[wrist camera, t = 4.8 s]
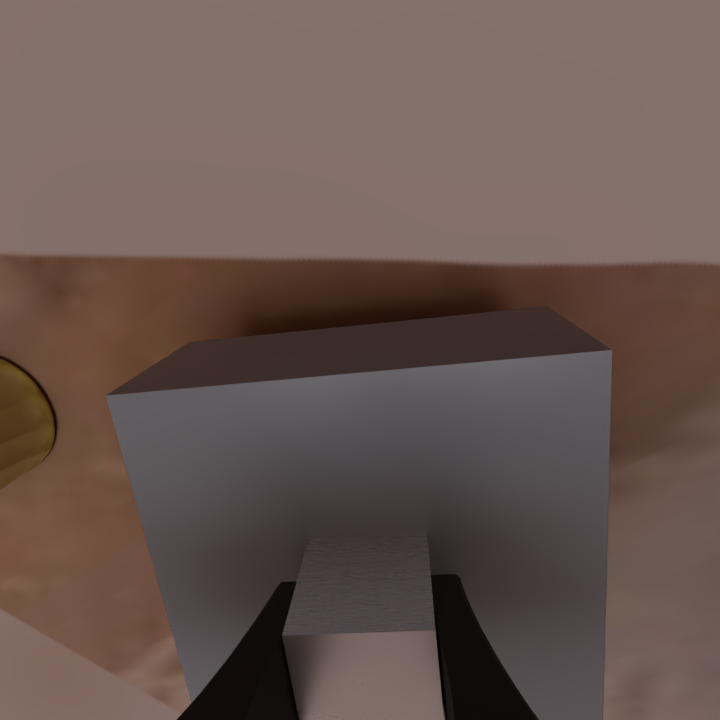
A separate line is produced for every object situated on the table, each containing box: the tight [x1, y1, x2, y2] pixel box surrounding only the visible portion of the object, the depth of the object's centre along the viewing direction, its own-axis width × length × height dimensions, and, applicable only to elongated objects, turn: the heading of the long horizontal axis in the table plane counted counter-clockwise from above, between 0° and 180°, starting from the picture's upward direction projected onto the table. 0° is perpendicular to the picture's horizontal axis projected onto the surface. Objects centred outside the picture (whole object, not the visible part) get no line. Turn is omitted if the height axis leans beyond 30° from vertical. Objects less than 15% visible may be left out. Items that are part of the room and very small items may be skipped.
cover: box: [106, 306, 612, 720], centre depth 14 cm, size 12×12×8 cm
